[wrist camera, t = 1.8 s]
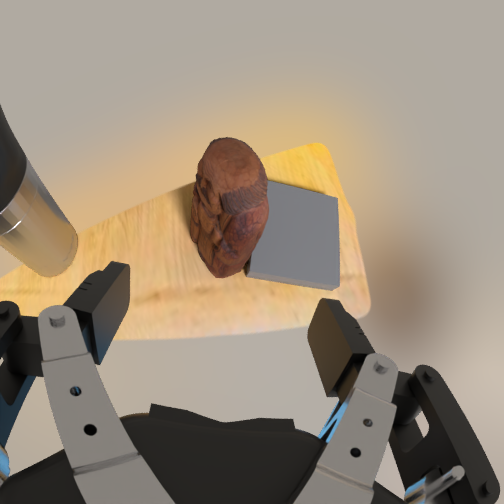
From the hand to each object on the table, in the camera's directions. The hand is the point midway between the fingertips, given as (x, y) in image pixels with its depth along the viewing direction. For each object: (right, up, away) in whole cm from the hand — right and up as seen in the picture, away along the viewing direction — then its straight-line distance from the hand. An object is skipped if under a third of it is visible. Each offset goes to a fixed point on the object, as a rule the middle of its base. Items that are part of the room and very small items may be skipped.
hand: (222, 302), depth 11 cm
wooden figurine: (-4, +3, +28) cm, 29 cm away
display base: (+8, +4, +31) cm, 32 cm away
